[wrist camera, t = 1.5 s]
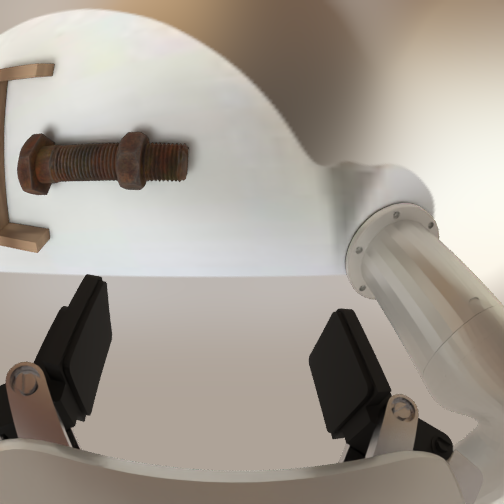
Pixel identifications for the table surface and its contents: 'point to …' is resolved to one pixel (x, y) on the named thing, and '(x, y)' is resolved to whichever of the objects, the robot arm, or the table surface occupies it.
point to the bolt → (99, 162)
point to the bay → (3, 230)
